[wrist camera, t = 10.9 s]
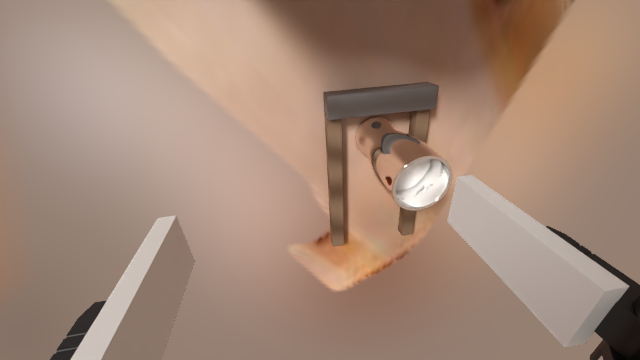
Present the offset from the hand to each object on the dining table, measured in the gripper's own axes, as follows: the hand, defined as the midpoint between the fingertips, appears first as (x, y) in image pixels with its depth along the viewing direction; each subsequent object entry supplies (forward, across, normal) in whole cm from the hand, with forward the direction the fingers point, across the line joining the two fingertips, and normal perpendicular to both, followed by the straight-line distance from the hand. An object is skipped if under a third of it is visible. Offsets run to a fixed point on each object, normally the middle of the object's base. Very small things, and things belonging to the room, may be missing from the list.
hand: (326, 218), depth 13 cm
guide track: (+27, +12, -13) cm, 32 cm away
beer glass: (+27, +12, -7) cm, 30 cm away
